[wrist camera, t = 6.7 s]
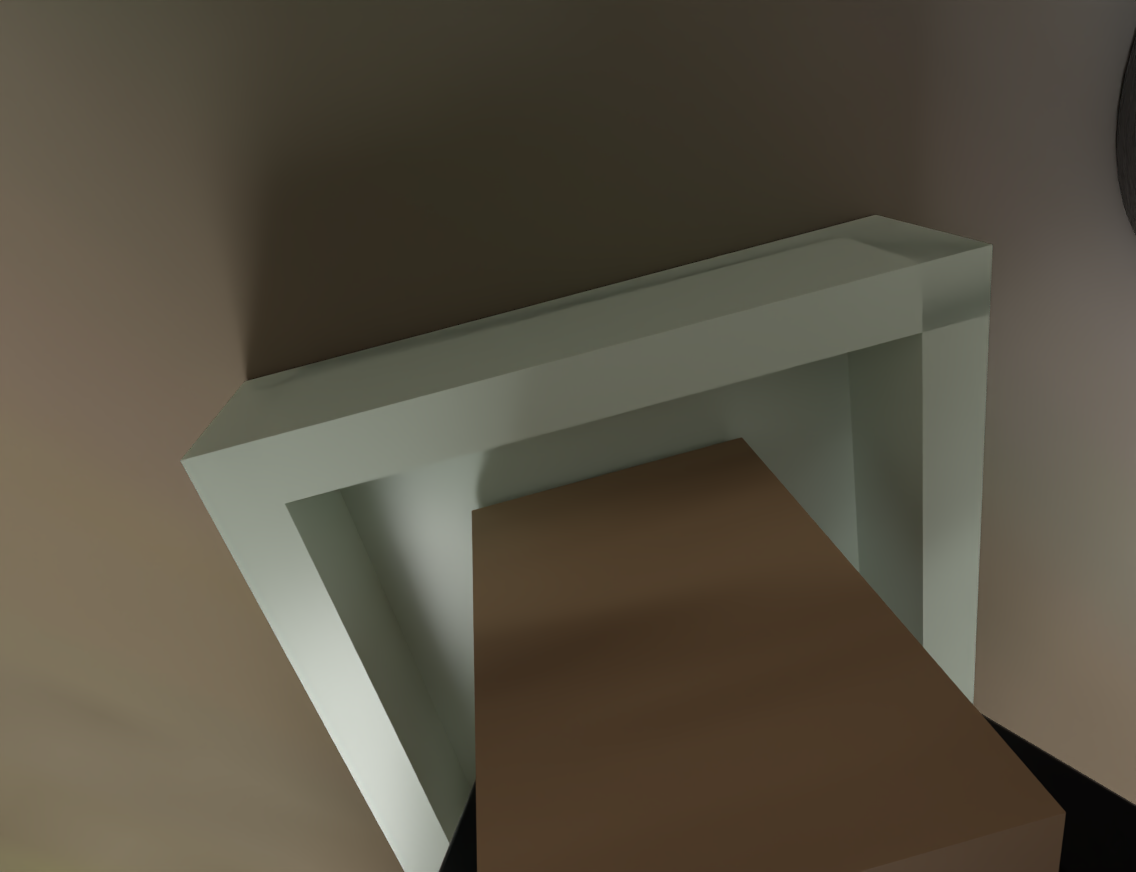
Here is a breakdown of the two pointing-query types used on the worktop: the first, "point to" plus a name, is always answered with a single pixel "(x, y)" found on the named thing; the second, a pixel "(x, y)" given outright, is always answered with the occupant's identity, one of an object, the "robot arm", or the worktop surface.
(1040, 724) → the worktop surface
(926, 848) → the stop block
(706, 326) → the tray
